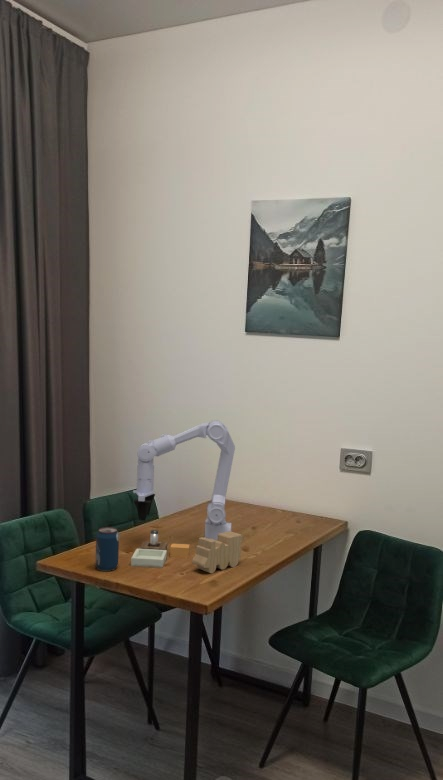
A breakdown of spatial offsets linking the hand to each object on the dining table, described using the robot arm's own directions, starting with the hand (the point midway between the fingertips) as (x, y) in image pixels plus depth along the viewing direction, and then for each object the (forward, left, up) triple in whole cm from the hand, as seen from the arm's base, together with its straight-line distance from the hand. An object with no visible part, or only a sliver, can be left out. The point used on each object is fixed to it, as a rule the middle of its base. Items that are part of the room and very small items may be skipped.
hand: (144, 517), depth 222 cm
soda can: (+7, +25, -10) cm, 28 cm away
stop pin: (-5, +7, -10) cm, 13 cm away
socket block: (-5, +7, -10) cm, 13 cm away
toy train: (-27, +19, -10) cm, 34 cm away
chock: (-14, +9, -10) cm, 19 cm away
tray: (-5, +17, -10) cm, 20 cm away
